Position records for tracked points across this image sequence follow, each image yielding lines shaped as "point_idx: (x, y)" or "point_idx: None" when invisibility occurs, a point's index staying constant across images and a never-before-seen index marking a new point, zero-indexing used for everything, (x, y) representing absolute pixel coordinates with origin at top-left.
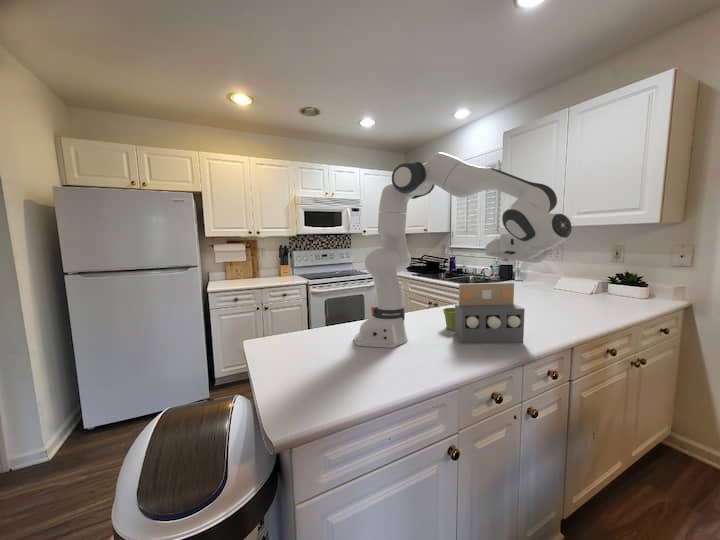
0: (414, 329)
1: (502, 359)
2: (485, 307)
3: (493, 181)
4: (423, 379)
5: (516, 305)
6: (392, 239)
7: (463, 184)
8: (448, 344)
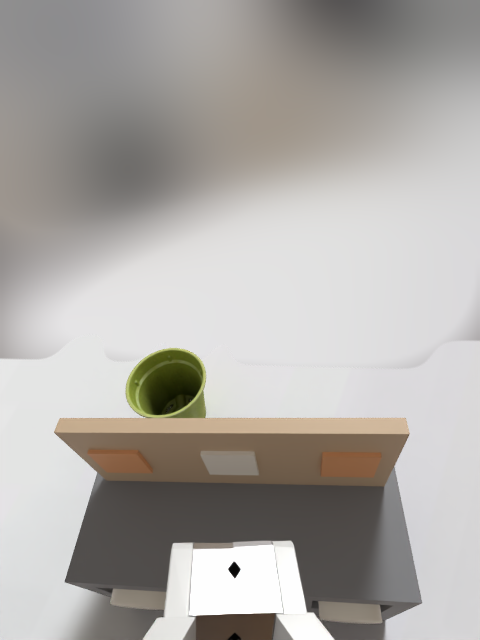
0: (52, 422)
1: None
2: (210, 538)
3: None
4: None
5: (395, 509)
6: None
7: None
8: (79, 601)
